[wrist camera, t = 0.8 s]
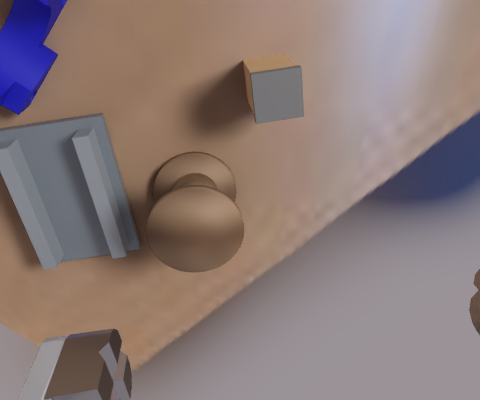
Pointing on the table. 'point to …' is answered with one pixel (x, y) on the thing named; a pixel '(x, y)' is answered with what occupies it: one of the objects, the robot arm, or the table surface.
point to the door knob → (194, 214)
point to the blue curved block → (26, 51)
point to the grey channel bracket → (68, 189)
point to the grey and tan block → (274, 88)
